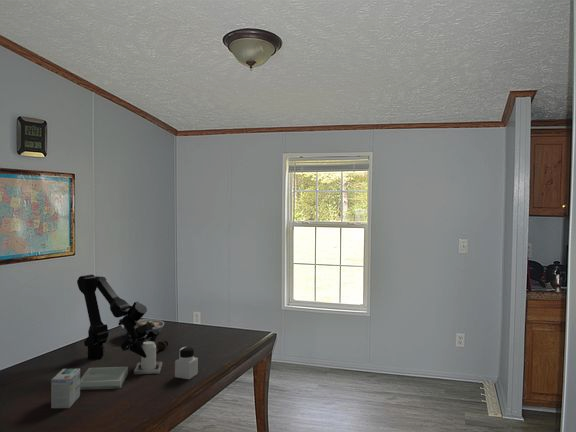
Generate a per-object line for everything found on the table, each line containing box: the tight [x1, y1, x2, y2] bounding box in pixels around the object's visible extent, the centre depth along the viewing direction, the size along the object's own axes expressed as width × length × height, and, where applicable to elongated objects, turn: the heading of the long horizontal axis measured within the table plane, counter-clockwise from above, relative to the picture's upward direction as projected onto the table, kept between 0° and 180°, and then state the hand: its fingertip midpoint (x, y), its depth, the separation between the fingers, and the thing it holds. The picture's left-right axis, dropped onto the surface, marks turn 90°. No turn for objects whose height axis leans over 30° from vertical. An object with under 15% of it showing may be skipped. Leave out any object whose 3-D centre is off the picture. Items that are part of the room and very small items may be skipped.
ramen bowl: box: [120, 318, 165, 337], centre depth 254 cm, size 25×23×8 cm
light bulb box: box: [50, 368, 81, 409], centre depth 171 cm, size 11×7×11 cm, turn 5°
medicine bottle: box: [174, 346, 199, 380], centre depth 199 cm, size 7×7×12 cm
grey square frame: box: [133, 361, 163, 375], centre depth 206 cm, size 11×11×2 cm
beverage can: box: [140, 341, 157, 370], centre depth 206 cm, size 6×6×12 cm
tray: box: [80, 366, 129, 391], centre depth 192 cm, size 16×16×3 cm
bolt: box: [155, 340, 169, 355], centre depth 231 cm, size 6×5×15 cm
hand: (150, 355), depth 205 cm, fingers closed on beverage can, 6 cm apart
